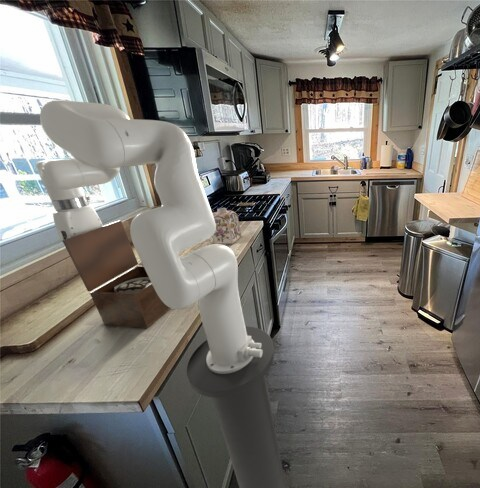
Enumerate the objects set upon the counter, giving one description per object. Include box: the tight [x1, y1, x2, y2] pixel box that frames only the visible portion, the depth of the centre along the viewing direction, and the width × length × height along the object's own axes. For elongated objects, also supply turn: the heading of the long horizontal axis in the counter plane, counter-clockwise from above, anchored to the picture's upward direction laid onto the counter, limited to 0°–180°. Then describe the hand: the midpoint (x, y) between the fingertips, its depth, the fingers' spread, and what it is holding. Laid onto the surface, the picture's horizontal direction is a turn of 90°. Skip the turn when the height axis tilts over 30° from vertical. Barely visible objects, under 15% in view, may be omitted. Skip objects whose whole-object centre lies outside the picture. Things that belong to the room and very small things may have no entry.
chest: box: [89, 264, 171, 329], centre depth 86 cm, size 16×18×12 cm
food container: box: [114, 277, 151, 294], centre depth 86 cm, size 12×6×10 cm, turn 94°
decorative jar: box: [211, 207, 242, 245], centre depth 141 cm, size 12×12×18 cm
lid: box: [61, 220, 139, 292], centre depth 81 cm, size 16×18×1 cm
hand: (95, 259), depth 83 cm, fingers closed
